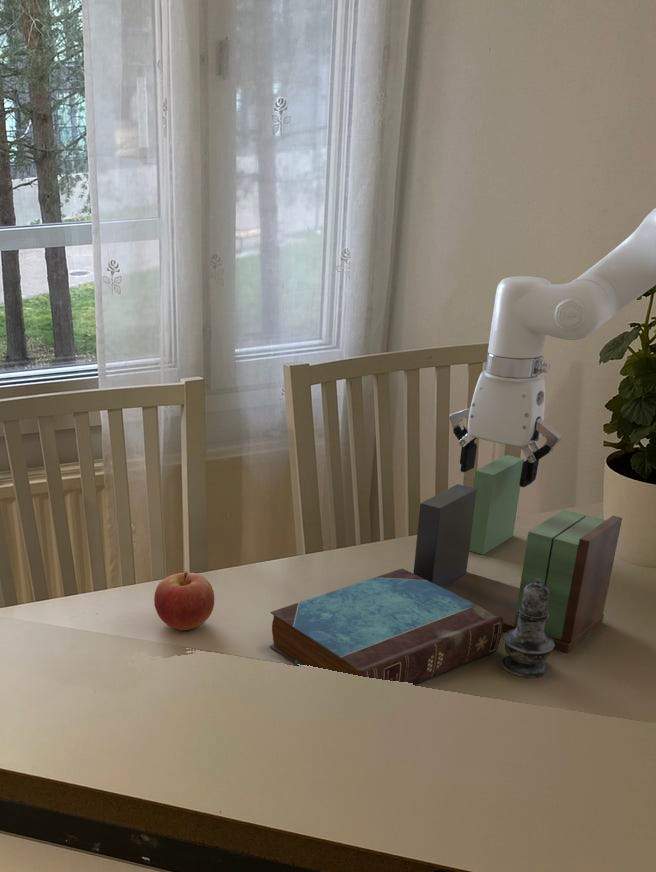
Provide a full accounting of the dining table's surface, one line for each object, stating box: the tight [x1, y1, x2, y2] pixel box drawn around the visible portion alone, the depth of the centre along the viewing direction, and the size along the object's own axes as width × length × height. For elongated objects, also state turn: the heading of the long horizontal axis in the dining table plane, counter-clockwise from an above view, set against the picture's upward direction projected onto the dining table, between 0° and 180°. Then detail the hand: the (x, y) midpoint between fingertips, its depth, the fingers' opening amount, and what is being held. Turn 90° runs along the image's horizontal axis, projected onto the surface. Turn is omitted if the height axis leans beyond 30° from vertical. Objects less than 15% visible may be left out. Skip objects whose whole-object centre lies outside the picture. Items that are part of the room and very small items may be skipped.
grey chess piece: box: [500, 577, 554, 679], centre depth 108 cm, size 6×6×12 cm
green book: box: [469, 454, 525, 556], centre depth 142 cm, size 10×3×13 cm, turn 135°
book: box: [269, 568, 503, 685], centre depth 114 cm, size 23×18×5 cm
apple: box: [153, 571, 215, 631], centre depth 121 cm, size 8×8×8 cm
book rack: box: [412, 483, 623, 654], centre depth 121 cm, size 11×24×15 cm, turn 46°
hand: (495, 477), depth 140 cm, fingers open, 9 cm apart
